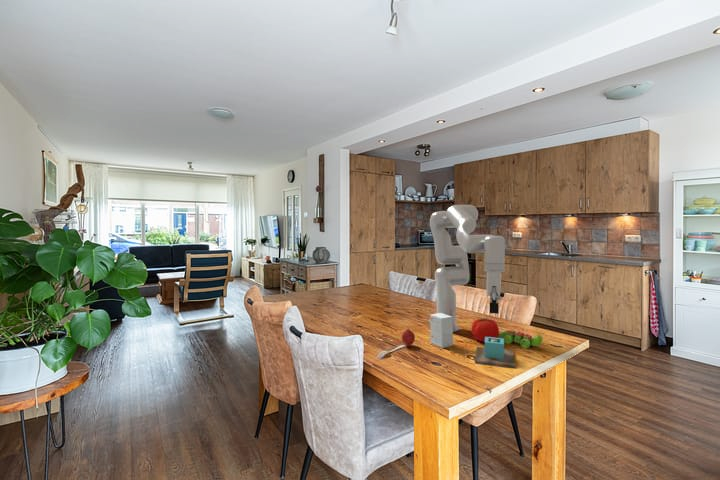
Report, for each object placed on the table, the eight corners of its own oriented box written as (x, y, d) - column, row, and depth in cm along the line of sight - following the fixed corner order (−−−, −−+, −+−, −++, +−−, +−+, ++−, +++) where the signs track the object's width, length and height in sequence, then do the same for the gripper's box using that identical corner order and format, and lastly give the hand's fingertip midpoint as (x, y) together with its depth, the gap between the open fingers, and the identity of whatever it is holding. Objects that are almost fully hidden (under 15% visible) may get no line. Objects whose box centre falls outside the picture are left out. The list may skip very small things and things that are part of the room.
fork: (407, 351, 152) (407, 345, 153) (379, 361, 136) (379, 354, 137) (402, 350, 154) (402, 344, 154) (373, 359, 138) (374, 352, 138)
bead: (484, 357, 135) (484, 342, 135) (485, 351, 142) (485, 336, 141) (504, 359, 133) (504, 344, 132) (503, 353, 139) (503, 338, 139)
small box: (453, 345, 151) (453, 316, 151) (441, 348, 149) (441, 318, 148) (441, 340, 159) (441, 312, 158) (430, 342, 156) (429, 314, 155)
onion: (401, 343, 155) (401, 326, 155) (414, 344, 155) (414, 326, 154) (401, 348, 149) (401, 330, 149) (415, 348, 149) (415, 330, 148)
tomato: (496, 337, 161) (496, 315, 161) (501, 346, 150) (501, 322, 150) (470, 336, 164) (470, 314, 164) (472, 344, 153) (472, 321, 153)
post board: (474, 362, 132) (474, 345, 132) (476, 348, 147) (476, 332, 147) (514, 367, 127) (514, 349, 127) (512, 352, 142) (512, 336, 142)
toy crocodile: (493, 340, 158) (493, 327, 157) (499, 337, 162) (499, 324, 162) (538, 351, 143) (538, 337, 143) (544, 347, 148) (544, 333, 147)
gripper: (484, 264, 145) (484, 304, 146) (483, 269, 129) (483, 314, 130) (504, 264, 142) (503, 305, 143) (505, 270, 126) (504, 316, 127)
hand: (494, 310), depth 137 cm, fingers open, 9 cm apart
